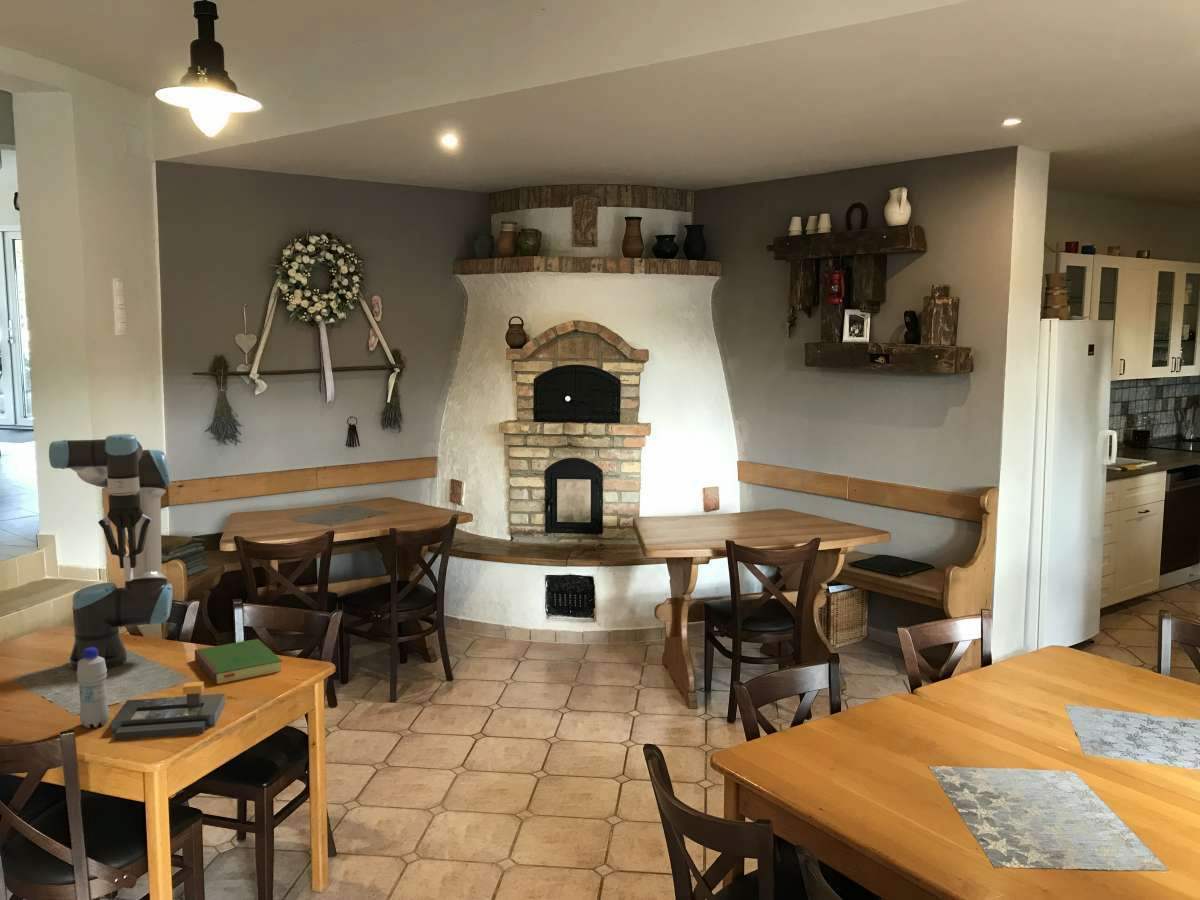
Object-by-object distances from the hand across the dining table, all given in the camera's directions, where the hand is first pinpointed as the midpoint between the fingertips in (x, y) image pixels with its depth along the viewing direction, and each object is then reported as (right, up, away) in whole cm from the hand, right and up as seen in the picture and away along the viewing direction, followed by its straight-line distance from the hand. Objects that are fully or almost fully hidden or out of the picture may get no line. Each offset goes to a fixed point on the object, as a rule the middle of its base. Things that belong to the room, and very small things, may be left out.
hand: (129, 579), depth 252 cm
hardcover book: (+19, -30, +27) cm, 45 cm away
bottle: (-1, -35, -15) cm, 38 cm away
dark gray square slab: (+16, -34, -11) cm, 39 cm away
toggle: (+22, -32, -10) cm, 40 cm away
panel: (+16, -34, -11) cm, 39 cm away
